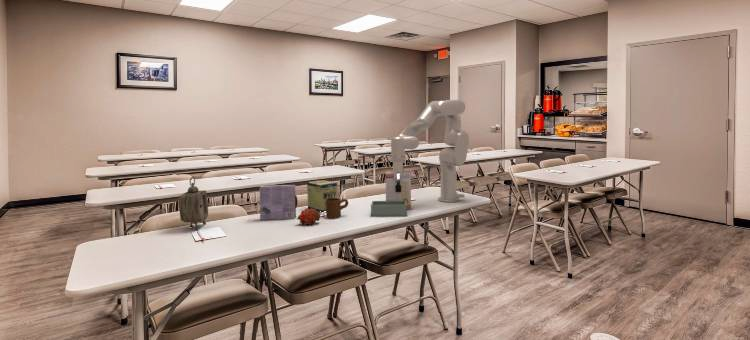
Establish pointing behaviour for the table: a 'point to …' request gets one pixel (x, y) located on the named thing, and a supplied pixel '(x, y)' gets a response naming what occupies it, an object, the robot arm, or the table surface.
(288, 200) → the cake pan box
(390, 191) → the cracker box
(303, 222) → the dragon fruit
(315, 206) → the protein box
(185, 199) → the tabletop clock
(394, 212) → the tray
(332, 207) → the mug
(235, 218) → the table surface
